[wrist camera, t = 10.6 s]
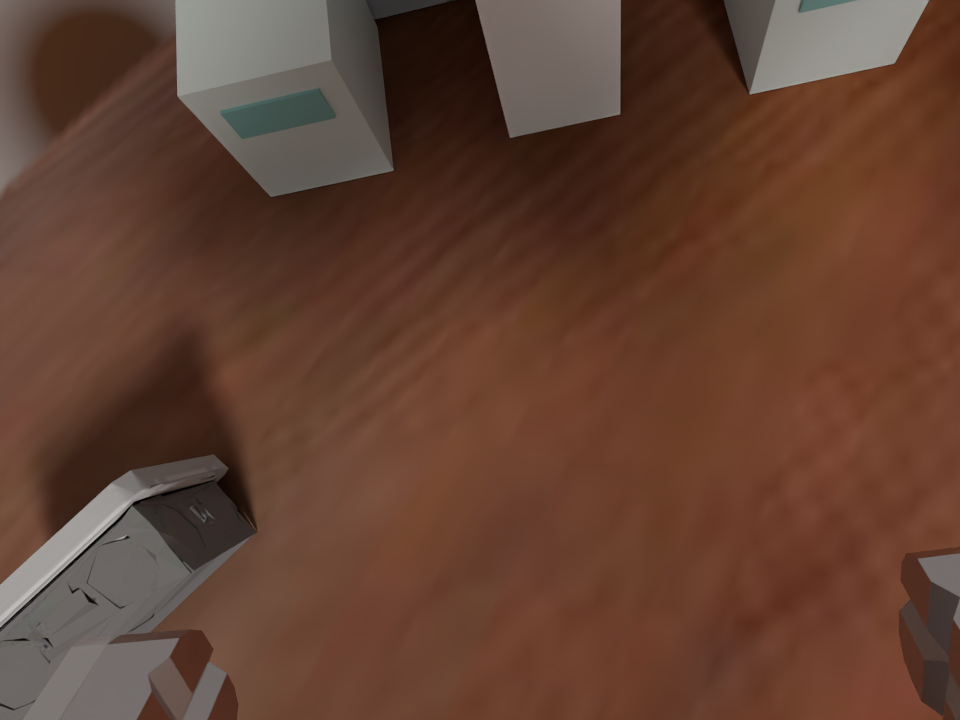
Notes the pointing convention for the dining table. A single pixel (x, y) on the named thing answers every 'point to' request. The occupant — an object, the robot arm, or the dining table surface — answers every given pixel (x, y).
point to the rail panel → (398, 6)
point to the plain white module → (553, 60)
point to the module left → (287, 87)
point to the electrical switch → (114, 570)
